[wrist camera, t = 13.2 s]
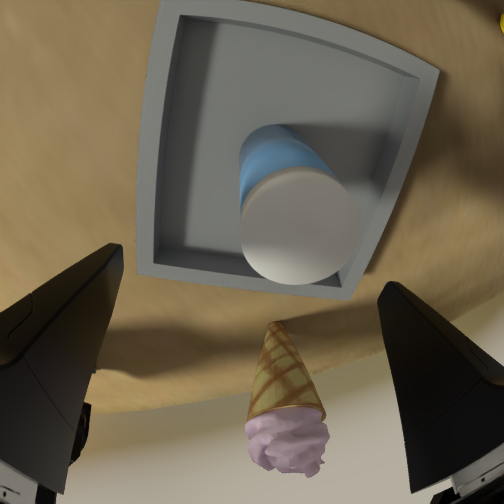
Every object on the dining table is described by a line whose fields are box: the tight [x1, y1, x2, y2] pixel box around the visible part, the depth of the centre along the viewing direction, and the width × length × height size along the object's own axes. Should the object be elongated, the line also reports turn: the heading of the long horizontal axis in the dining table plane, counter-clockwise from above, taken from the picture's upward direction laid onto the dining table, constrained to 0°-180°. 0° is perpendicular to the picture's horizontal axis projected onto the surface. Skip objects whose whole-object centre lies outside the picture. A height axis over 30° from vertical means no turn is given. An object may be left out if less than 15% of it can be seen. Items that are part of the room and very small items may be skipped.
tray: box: [136, 0, 440, 301], centre depth 18 cm, size 18×16×3 cm
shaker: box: [239, 124, 362, 285], centre depth 14 cm, size 4×4×9 cm
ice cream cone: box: [245, 322, 330, 478], centre depth 22 cm, size 7×6×15 cm
